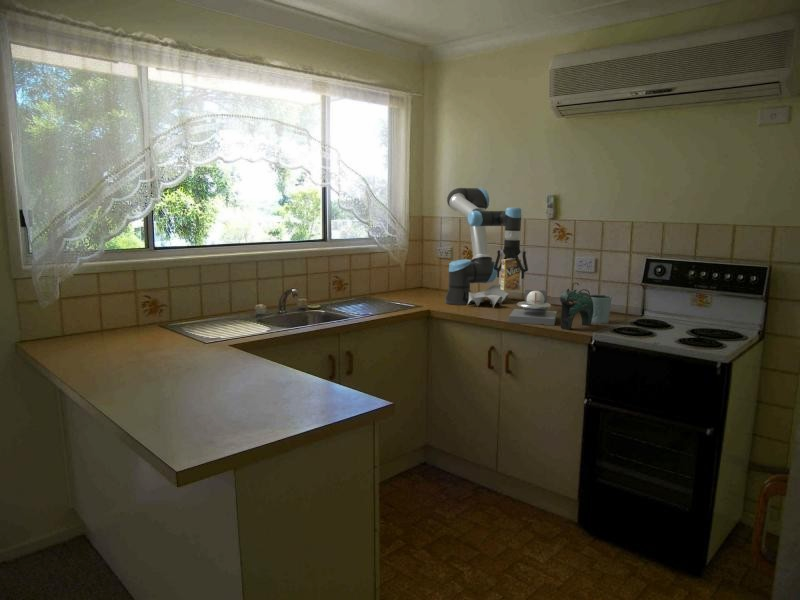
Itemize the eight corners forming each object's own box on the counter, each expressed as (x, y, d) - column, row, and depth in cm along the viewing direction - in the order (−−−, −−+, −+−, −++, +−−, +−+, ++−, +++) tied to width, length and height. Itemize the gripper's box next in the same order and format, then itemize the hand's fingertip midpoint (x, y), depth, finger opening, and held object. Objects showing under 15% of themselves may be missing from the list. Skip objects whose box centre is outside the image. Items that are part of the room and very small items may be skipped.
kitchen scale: (508, 322, 264) (509, 294, 262) (514, 314, 283) (515, 288, 281) (554, 325, 258) (555, 296, 256) (556, 317, 277) (557, 290, 275)
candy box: (503, 290, 285) (505, 259, 282) (499, 289, 289) (501, 258, 286) (519, 290, 287) (521, 259, 285) (515, 288, 291) (517, 258, 289)
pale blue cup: (613, 321, 268) (615, 296, 266) (604, 324, 260) (606, 298, 259) (592, 318, 275) (594, 293, 273) (583, 321, 267) (584, 296, 265)
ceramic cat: (566, 331, 247) (569, 284, 244) (554, 328, 252) (556, 282, 249) (595, 325, 259) (598, 281, 255) (583, 323, 264) (585, 279, 261)
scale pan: (515, 310, 265) (515, 305, 264) (519, 305, 279) (519, 300, 279) (549, 312, 260) (549, 307, 260) (551, 306, 275) (551, 302, 274)
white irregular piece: (499, 309, 299) (500, 291, 297) (464, 307, 306) (464, 288, 305) (510, 302, 321) (511, 285, 320) (477, 300, 329) (478, 283, 327)
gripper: (488, 239, 283) (486, 284, 288) (534, 240, 277) (532, 287, 281) (491, 238, 291) (489, 282, 295) (535, 239, 284) (533, 284, 288)
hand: (510, 284), depth 288 cm, fingers closed on candy box, 9 cm apart
